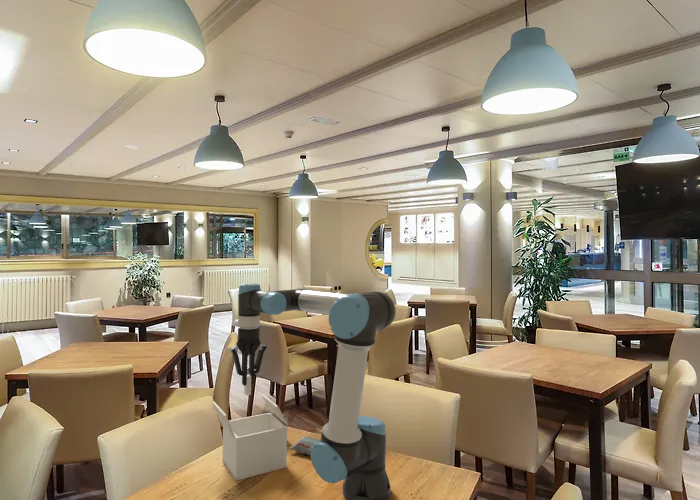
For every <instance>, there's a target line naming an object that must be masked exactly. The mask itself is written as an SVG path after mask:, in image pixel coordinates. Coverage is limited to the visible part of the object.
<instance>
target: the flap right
mask: <svg viewBox="0 0 700 500" xmlns="http://www.w3.org/2000/svg"><path fill="white" fill-rule="evenodd" d="M260 395H261V397H262V399H263V401H264V402H265V404H266V405H267V407H268V409H269V411H270V413H271V412H272V413H273V414H274V415H275V416H277V417H278V418H279V419H280V420H281V421H282V422H284V423H285V426H286V427H288V426H289V422H288V421H287V419H286V416H285V417H284V416H283V414H284V413H282V410H281V409H280V407H279V405H278V404H276V403H275V402H274V401H272V400H271V399H270V398H269V397H268V396H266V395H265V394H263V393H261V394H260Z"/></svg>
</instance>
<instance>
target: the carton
mask: <svg viewBox="0 0 700 500" xmlns="http://www.w3.org/2000/svg"><path fill="white" fill-rule="evenodd" d="M229 423H230V425H231V428H232V430H233V433H234V435H235V438H233V437H232V435H231V434H230V433H229V432H228V430H227V429H226V428H225V427H224V426H223V425H222V462H223V464H224V465H225V466H226V468H227V470H228V471H229V472H230V474H231V476H232V477H233V479H234V480H235V481H239V480H243V479H247V478H251V477H254V476H255V477H256V476H259V475H262V474H266V473H270V472H273V471H276V470H281V469H283V468H287V465H288V463H287V461H288V460H287V455H288V426H287V425H286V424H285V425H284V424H283V423H282V422H281V421H279V420H278V419H277V418H276V417H275V416H274V415H272V414H271V412H267V413H260V414H256V415H252V416H245V417H241V418H237V419H236V418H235V419H230V420H229Z"/></svg>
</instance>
